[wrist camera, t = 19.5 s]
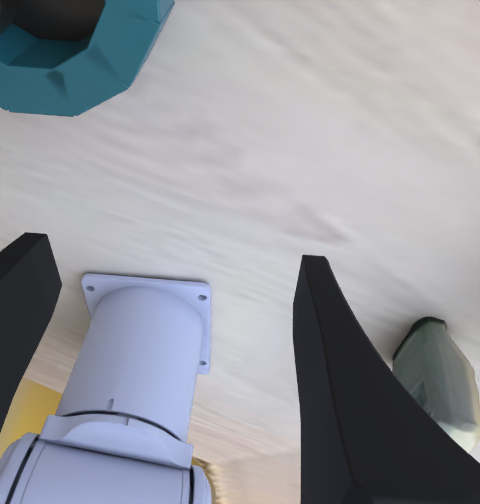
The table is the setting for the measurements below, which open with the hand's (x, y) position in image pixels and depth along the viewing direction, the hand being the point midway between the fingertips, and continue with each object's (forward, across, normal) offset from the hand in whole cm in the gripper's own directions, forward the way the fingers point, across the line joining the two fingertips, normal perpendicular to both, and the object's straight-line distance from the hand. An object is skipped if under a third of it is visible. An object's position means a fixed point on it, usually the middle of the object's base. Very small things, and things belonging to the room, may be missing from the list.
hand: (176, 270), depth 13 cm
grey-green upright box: (+11, -14, +15) cm, 23 cm away
